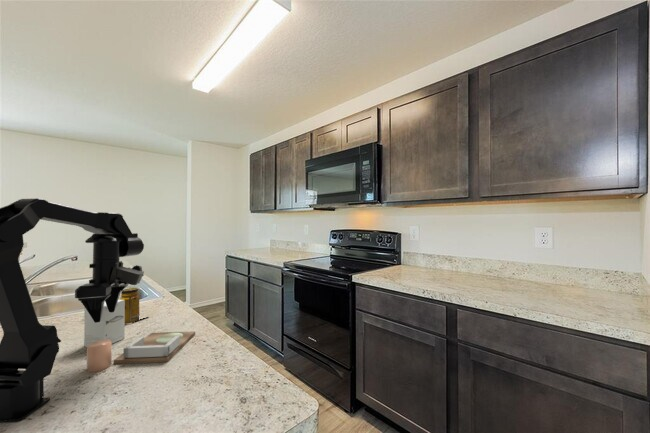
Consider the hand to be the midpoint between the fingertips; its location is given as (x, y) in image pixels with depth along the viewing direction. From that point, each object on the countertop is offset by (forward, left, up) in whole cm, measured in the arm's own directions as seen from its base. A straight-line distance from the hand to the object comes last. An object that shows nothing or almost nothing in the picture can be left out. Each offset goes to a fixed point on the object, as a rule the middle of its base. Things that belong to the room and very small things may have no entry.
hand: (105, 316), depth 76 cm
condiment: (+33, +13, -12) cm, 37 cm away
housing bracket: (+3, -11, -11) cm, 16 cm away
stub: (-3, -1, -12) cm, 12 cm away
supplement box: (+13, +9, -12) cm, 20 cm away
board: (+8, -10, -12) cm, 17 cm away
